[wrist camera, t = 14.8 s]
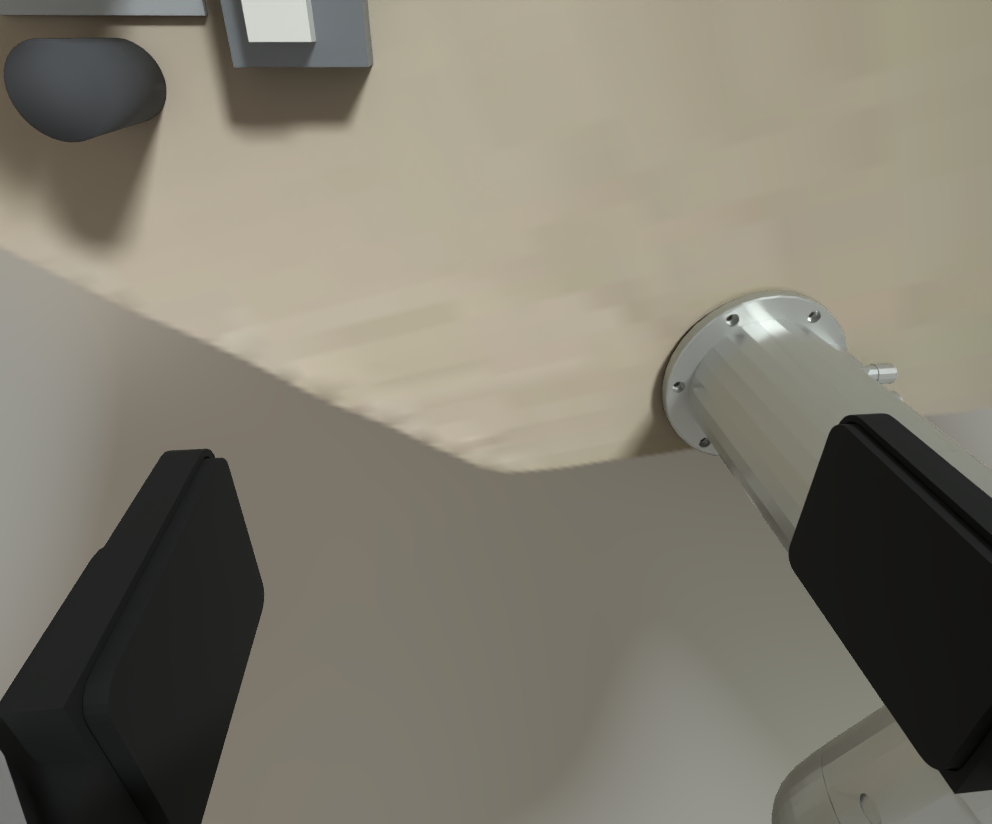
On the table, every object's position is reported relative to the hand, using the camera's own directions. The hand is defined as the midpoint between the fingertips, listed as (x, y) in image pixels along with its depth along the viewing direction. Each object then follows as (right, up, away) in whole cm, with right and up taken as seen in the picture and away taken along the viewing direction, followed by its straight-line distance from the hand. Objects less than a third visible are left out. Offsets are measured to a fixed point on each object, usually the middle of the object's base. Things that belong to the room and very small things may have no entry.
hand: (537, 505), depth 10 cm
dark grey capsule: (-19, +18, +20) cm, 33 cm away
